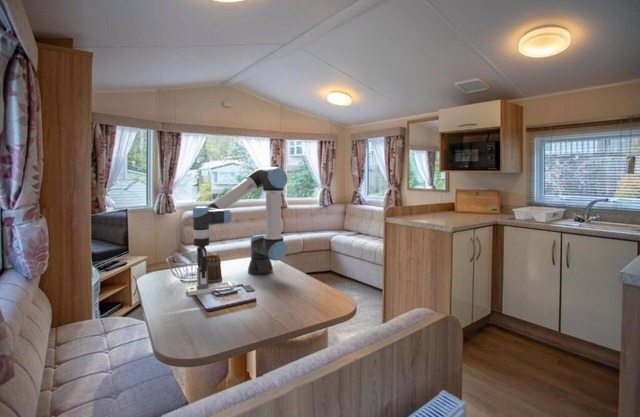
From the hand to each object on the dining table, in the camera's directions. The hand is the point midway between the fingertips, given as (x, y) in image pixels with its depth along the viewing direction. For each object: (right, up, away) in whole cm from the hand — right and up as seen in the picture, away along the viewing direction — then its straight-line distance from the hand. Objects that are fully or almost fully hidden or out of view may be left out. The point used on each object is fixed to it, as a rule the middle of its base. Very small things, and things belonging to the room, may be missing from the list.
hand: (202, 282), depth 179 cm
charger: (0, -4, 0) cm, 4 cm away
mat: (+20, -5, +7) cm, 21 cm away
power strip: (+6, -5, +4) cm, 9 cm away
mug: (0, -4, +19) cm, 19 cm away
